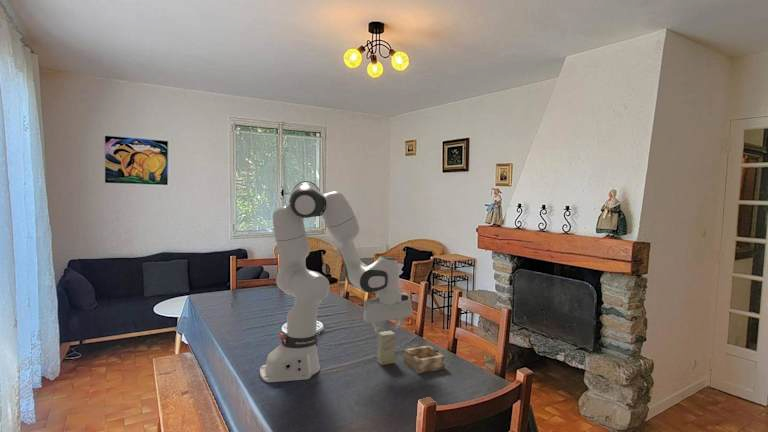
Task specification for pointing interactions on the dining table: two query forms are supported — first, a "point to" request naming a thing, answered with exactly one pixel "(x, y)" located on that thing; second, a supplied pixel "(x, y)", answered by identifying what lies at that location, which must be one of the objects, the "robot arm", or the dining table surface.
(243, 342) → the dining table surface
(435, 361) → the socket block
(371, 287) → the robot arm
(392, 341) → the skincare box
